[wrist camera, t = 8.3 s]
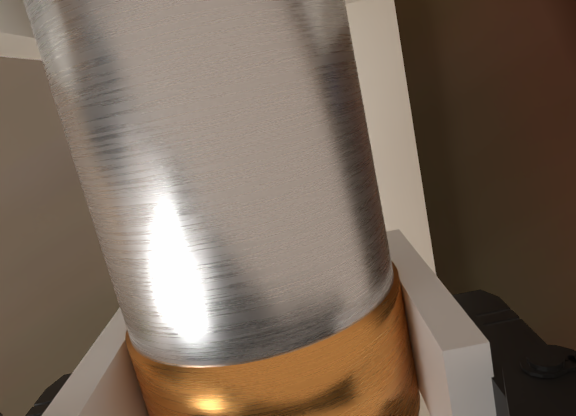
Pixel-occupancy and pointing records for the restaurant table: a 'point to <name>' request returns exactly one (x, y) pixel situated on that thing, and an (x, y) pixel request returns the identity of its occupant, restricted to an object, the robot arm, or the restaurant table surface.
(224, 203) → the air tube
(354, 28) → the collar stand
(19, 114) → the restaurant table surface
